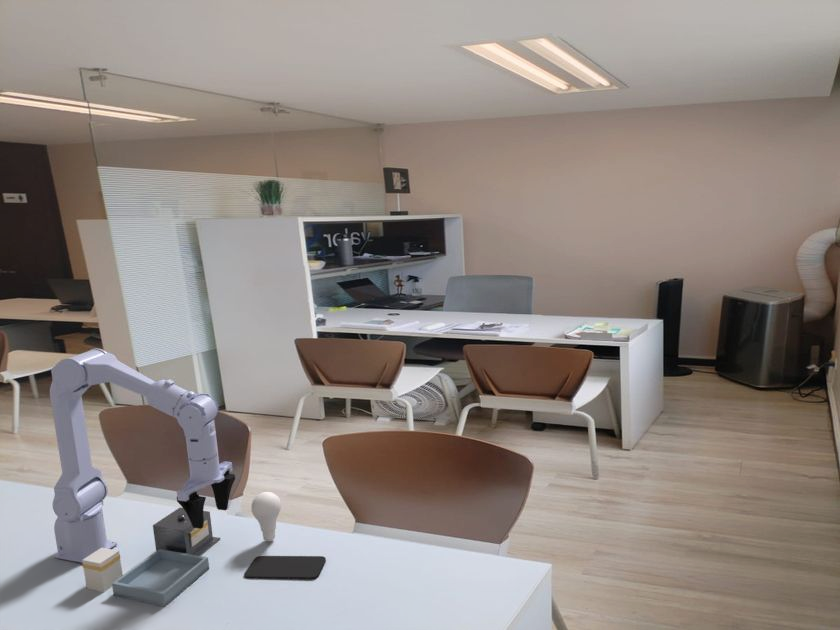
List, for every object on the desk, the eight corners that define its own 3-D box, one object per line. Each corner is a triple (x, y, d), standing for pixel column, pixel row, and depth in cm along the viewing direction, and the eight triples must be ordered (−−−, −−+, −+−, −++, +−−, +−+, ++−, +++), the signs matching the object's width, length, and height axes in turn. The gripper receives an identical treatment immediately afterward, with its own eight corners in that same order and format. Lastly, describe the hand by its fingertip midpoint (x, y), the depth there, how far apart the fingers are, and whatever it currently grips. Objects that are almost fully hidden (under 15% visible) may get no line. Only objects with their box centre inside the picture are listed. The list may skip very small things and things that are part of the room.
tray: (113, 595, 115) (111, 583, 115) (160, 560, 126) (159, 548, 126) (165, 606, 111) (163, 594, 111) (209, 568, 122) (208, 557, 122)
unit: (149, 558, 127) (144, 524, 126) (183, 533, 137) (179, 502, 135) (188, 565, 124) (184, 530, 123) (220, 540, 133) (216, 507, 132)
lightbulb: (276, 549, 128) (272, 500, 126) (250, 547, 129) (244, 499, 128) (288, 534, 134) (284, 487, 132) (263, 532, 135) (258, 486, 133)
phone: (256, 555, 126) (327, 555, 124) (256, 559, 126) (327, 559, 124) (241, 576, 118) (317, 577, 117) (242, 580, 119) (317, 581, 117)
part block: (86, 588, 118) (81, 560, 117) (105, 575, 122) (101, 547, 121) (104, 592, 116) (100, 563, 115) (123, 578, 121) (119, 550, 120)
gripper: (194, 472, 115) (202, 538, 118) (241, 443, 129) (248, 503, 131) (165, 468, 118) (173, 533, 120) (214, 441, 131) (220, 500, 133)
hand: (210, 518), depth 126 cm, fingers open, 7 cm apart
